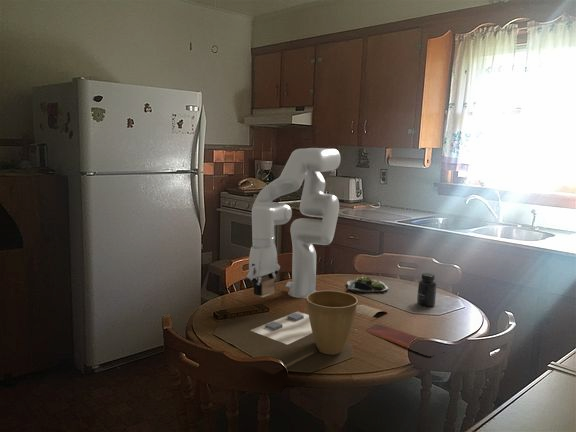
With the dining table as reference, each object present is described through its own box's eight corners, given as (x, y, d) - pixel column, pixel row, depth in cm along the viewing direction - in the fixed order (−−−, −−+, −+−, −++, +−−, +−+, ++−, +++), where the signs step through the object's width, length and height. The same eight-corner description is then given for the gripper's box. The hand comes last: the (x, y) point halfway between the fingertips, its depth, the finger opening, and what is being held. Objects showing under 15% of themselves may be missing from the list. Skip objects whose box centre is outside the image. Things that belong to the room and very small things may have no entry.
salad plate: (340, 281, 212) (341, 271, 212) (379, 281, 213) (380, 271, 213) (348, 294, 193) (349, 284, 193) (391, 294, 194) (392, 284, 194)
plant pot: (297, 354, 136) (298, 301, 134) (315, 336, 149) (317, 287, 147) (347, 365, 130) (349, 309, 128) (361, 344, 144) (363, 294, 141)
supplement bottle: (415, 305, 180) (417, 275, 178) (418, 300, 186) (419, 271, 184) (434, 308, 177) (436, 277, 176) (436, 303, 184) (438, 273, 182)
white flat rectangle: (249, 333, 151) (249, 330, 150) (297, 314, 168) (297, 311, 168) (287, 348, 140) (287, 344, 140) (334, 326, 158) (334, 322, 158)
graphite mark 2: (287, 318, 161) (287, 315, 161) (294, 315, 164) (294, 312, 164) (296, 321, 158) (296, 318, 158) (303, 318, 161) (303, 315, 161)
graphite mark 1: (265, 327, 153) (265, 324, 153) (273, 324, 156) (273, 321, 156) (274, 330, 150) (274, 327, 150) (282, 327, 153) (282, 324, 153)
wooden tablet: (449, 351, 141) (449, 346, 141) (429, 360, 135) (430, 355, 135) (380, 324, 162) (380, 320, 161) (360, 331, 155) (360, 326, 155)
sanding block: (254, 294, 162) (254, 281, 161) (266, 290, 167) (266, 276, 166) (262, 297, 160) (262, 283, 159) (274, 292, 164) (274, 279, 163)
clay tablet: (368, 324, 162) (368, 316, 161) (344, 316, 169) (344, 309, 168) (389, 314, 172) (390, 307, 172) (366, 307, 179) (366, 300, 179)
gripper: (272, 235, 168) (273, 283, 172) (237, 245, 156) (238, 296, 159) (288, 238, 164) (288, 288, 167) (253, 248, 151) (254, 301, 154)
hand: (264, 291), depth 163 cm, fingers closed on sanding block, 6 cm apart
